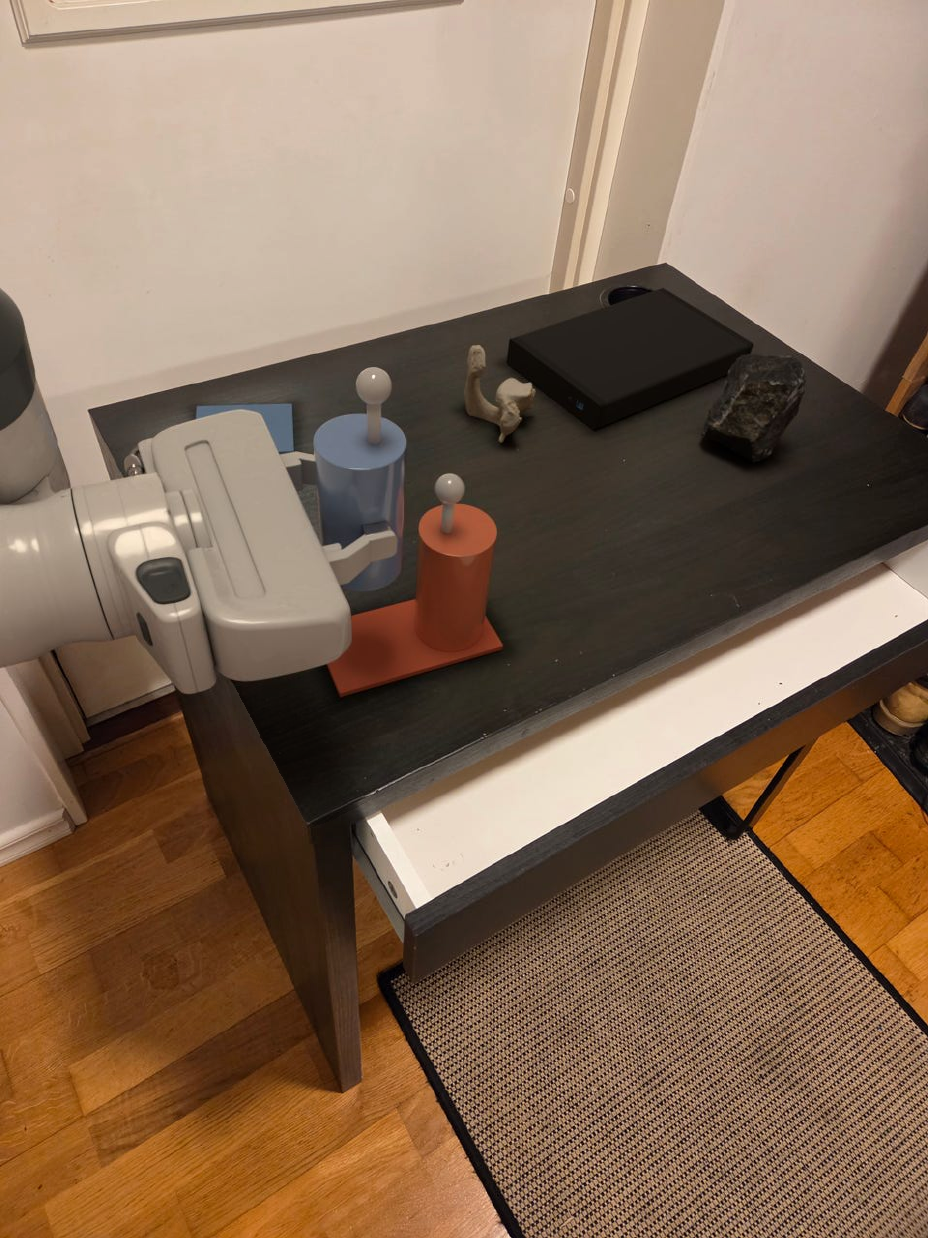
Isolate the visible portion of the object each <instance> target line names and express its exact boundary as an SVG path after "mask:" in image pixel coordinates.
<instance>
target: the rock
mask: <svg viewBox="0 0 928 1238" xmlns="http://www.w3.org/2000/svg"><path fill="white" fill-rule="evenodd" d="M806 383H807V376H806V374H805V371H804V367H803V364H802V362H801V361H800V360H799V359H798V357H797V356H796V355H775V354H774V355H772V354H763V353H757V352H756V353H751V354H749V355H741V356H740V357H739V358H736V361H735V363H734V364H733V365H732V366H731V367H730V369H729V371H728V374H727V375H726V380H725V382H724V389H723V393H722V395H721V397H719V398H717V399H716V400H715V401H714V402H713V404H712V405H711V407H710V408H709V410H708V415H707V418H706V420H705V422H704V425H703V428H702V430H701V432H700V435H701V437H703V438H704V439H707V440H710V441H716V442H717V443H719V444H721V445H723V446H725V447H726V448H728V449H730V450H731V451H732V452H735V453H737V454H739V455H740V456H742V457H744V458H745V459H747V460H749V461H750V462H751V463H755V462H761V461H763V460H766V459H768V458H769V457H770V456H771V455H772V452H773V450H774V448H775V447H776V445H777V444H778V442H779V441H780V438H781V437H782V436H783V435H784V433H785V431H786V430H787V429H788V427H789V425H790V424H791V422H792V421H793V420H794V418H796V417H797V415H798V414H799V410H800V407H801V403H802V401H803V399H804V398H805V396H806V395H807V384H806Z"/></svg>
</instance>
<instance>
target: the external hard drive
mask: <svg viewBox="0 0 928 1238" xmlns="http://www.w3.org/2000/svg"><path fill="white" fill-rule="evenodd" d="M754 345H755V344H754V342H752V341H751V340H749V339H747V338H746V337H744V336H743V335H741V334H739V333H738V332H736V331H734V330H733V329H731V328H729V326H727V325H724V324H723V323H722V322H721V321H718V320H716V319H715V318H713V317H712V316H710V315H708V314H707V313H705V312H704V311H702V310H701V309H699V308H697V307H695V306H694V305H692V304H691V303H689V302H687V301H686V300H684V299H682V298H681V297H680V296H677V295H676V294H674V293H672V292H671V291H670V290H668V289H666V288H664V287H662V288H659V289H655V290H653V291H650V292H647V293H644V294H640V295H638V296H634V297H632V298H628V299H626V300H623V301H620V302H619V301H618V302H616V303H613V304H611V305H608V306H604V307H601V308H599V309H596V310H592V311H589V312H587V313H584V314H580V315H578V316H577V315H576V316H575V317H571V318H568V319H565V320H563V321H559V322H556V323H554V324H550V325H546V326H544V327H542V328H539V329H536V330H533V331H530V332H527V333H523V334H520V335H517V336H514V337H511V338H509V340H508V346H507V347H508V349H507V355H506V363H507V365H509V367H511V368H512V369H513V370H515V371H516V372H517V373H518V374H520V375H521V376H523V377H524V378H525V379H526V380H527V381H529V383H531V384H532V385H534V386H535V387H537V388H538V389H539V390H541V392H543V393H544V394H546V395H547V396H548V397H550V398H551V399H552V400H554V401H555V402H556V403H557V404H559V406H561V407H563V408H564V409H565V410H566V411H568V413H570V414H571V415H573V416H574V417H575V418H577V419H578V420H579V421H581V422H582V423H583V424H584V425H585V426H587V427H588V428H590V429H591V430H592V431H596V430H598V429H600V428H602V427H605V426H607V425H609V424H612V423H614V422H617V421H619V420H621V419H624V418H626V417H629V416H631V415H633V414H635V413H638V412H640V411H643V410H645V409H648V408H650V407H653V406H655V405H657V404H659V403H662V402H665V401H667V400H670V399H672V398H674V397H676V396H679V395H681V394H683V393H686V392H689V391H691V390H693V389H697V388H698V387H700V386H702V385H705V384H708V383H710V382H712V381H714V380H717V379H719V378H722V377H724V376H727V374H728V371H729V369H730V367H731V366H732V365H733V364H734V363H735V361H736V358H739V357H740V356H741V355H749V354H752V351H753V349H754Z"/></svg>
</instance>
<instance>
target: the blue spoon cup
mask: <svg viewBox="0 0 928 1238" xmlns="http://www.w3.org/2000/svg"><path fill="white" fill-rule="evenodd" d="M355 391H356V394H357V396H358V397H359V398H360V400H361V401H363V402H364V403H365V404H366V413H349V414H344V415H339V416H335V417H333V418H331V419H329V420H327V421H325V422H324V423H323V424H321V426H319V427H318V429H317V430H316V432H315V433H314V436H313V439H312V441H313V442H312V443H313V445H312V447H313V455H314V461H315V476H316V485H315V489H316V504H317V506H316V507H317V520H318V532H319V533H318V534H319V536H318V537H319V541H320V543H321V545H322V546H326V545H330V544H335V543H339V544H340V545H341V547H342V549H344V548H346V547H347V546H349V545H350V544H351V543H353V542H354V541H356V540H357V539H359V538H360V537H361V536H362V525H365V524H371V523H375V524H377V523H378V522H380V521H383V520H384V521H388V523H389V525H390V526H391V528H392V530H393V531H394V533H395V535H396V537H397V539H398V543H397V553H396V554H395V555H394V556H392V557H390V558H386V559H382V560H378V561H374V562H370V564H369V565H368V566H367V567H366V568H365V569H364V570H363V571H362V572H360V573H359V574H358V575H357V576H356V577H355V578H354V579H353V580H351V581H350V582H349V583H347V584H343V585H340V587H341V589H342V590H343V589H344V590H347V591H352V592H358V593H359V592H360V593H365V592H373V591H377V590H380V589H383V588H386V587H387V586H389V585H390V584H392V583H393V582H395V580H396V579H398V577H399V576H400V574H401V572H402V570H403V565H404V537H405V510H406V508H405V506H406V505H405V504H406V481H407V480H406V479H407V477H406V475H407V447H408V443H407V437H406V434H405V433H404V431H403V430H402V429H401V427H399V426H398V425H397V424H396V423H394V422H393V421H391V420H389V419H387V418H385V417H382V404H383V403H385V402H387V400H388V399H389V398H390V397H391V394H392V391H393V382H392V379H391V377H390V375H389V374H388V373H387V372H386V371H385V370H384V369H382V368H379V367H373V366H372V367H367V368H365V369H364V370H362V371H361V372H360V373H359V374H358V376H357V377H356V381H355Z"/></svg>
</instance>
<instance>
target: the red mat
mask: <svg viewBox="0 0 928 1238" xmlns="http://www.w3.org/2000/svg"><path fill="white" fill-rule="evenodd" d="M414 613H415V598H414V599H410V600H407V601H402V602H399V603H395V604H391V605H388V606H384V607H383V606H382V607H380V608H376V609H372V610H369V611H365V612H361V613H357V614H354V615H351V627H352V640H351V644H350V646H349V647H348V649H347V650H346V651H345V652H344V653H343V654H342V655H341V656H340V657H339V658H338V659H337V660H335V661H333V662H331V663H328V664H325V665H326V667H327V670H328V672H329V674H330V676H331V679H332V681H333V684H334V686H335V688H336V691H337V694H338V696H339V698H343V697H347V696H349V695H352V694H356V693H359V692H363V691H366V690H370V689H373V688H378V687H380V686H383V685H384V686H385V685H387V684H391V683H393V682H397V681H400V680H403V679H404V680H405V679H407V678H411V677H414V676H418V675H421V674H424V673H427V672H431V671H434V670H438V669H441V668H444V667H449V666H451V665H455V664H458V663H461V662H465V661H468V660H471V659H475V658H478V657H482V656H484V655H488V654H492V653H495V652H499V651H502V650H503V649H504V645H503V643H502V642H501V640H500V637H499V636H498V635H497V633H496V631H495V629H494V628H493V626H492V625H491V622H490V621H489V619H488V617H487V616H486V615H485V622H484V629H483V633H482V636H481V637H480V639H479V640H478V641H477V642H476V643H475V644H474V645H472V646H471V647H469V648H467V649H464V650H460V651H454V652H448V651H441V650H437V649H434V648H432V647H430V646H428V645H426V644H425V643H424V642H423V641H422V640H421V639H420V638H419V637H418V635H417V634H416V631H415V628H414Z"/></svg>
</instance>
